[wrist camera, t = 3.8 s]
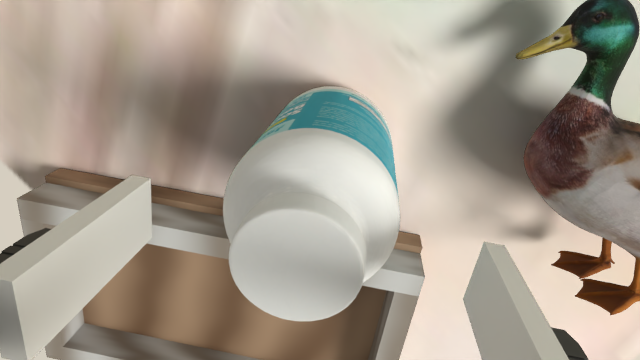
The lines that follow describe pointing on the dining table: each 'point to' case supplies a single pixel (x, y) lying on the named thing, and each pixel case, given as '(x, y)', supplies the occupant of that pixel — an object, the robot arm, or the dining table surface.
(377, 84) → the dining table surface
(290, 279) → the pill bottle
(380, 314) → the grey rimmed shallow tray
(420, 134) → the dining table surface
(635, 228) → the decorative duck model
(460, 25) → the dining table surface
